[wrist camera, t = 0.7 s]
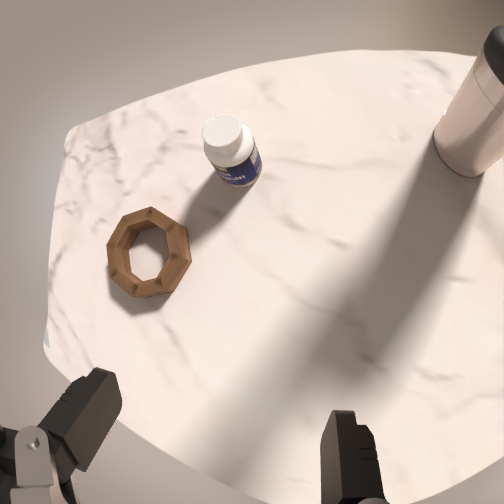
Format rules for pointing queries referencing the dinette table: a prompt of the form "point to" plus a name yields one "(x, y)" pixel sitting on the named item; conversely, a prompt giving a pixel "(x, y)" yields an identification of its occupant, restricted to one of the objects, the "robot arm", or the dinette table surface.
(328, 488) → the robot arm
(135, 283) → the walnut ring
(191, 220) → the dinette table surface
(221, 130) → the pill bottle
